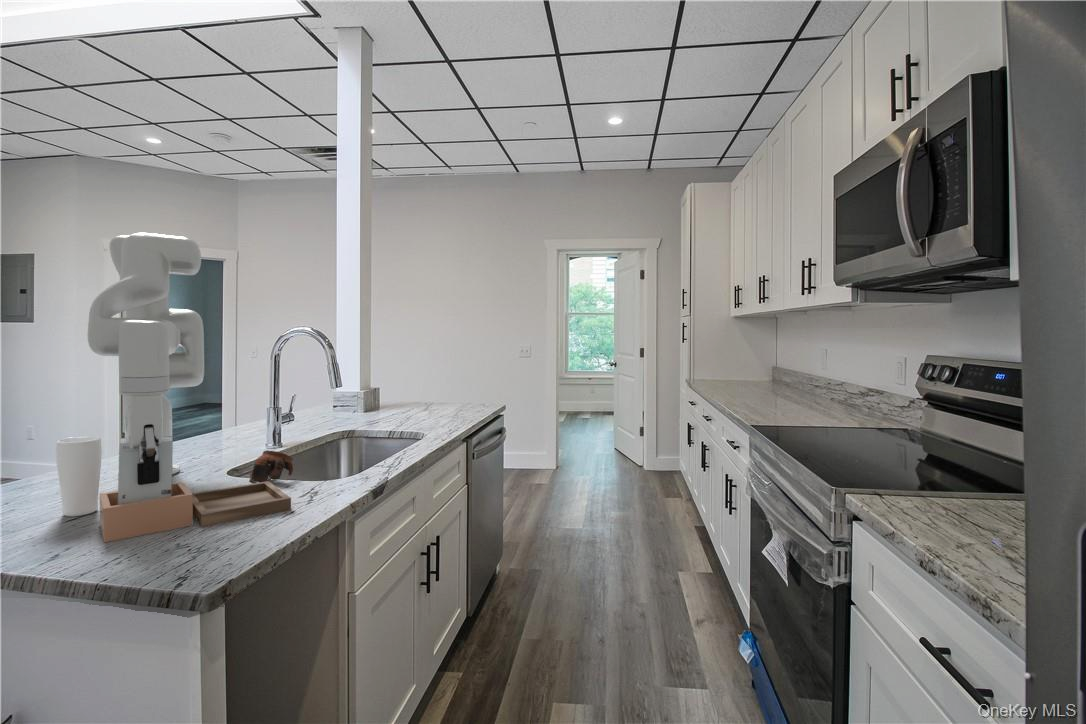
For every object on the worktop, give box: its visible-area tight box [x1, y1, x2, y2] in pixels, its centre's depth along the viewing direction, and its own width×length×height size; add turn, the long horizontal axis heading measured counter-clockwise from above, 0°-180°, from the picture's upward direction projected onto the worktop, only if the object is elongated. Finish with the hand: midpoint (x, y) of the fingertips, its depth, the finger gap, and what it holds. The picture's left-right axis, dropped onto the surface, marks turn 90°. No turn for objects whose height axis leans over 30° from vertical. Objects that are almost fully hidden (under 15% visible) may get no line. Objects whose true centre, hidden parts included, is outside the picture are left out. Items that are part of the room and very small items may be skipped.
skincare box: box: [117, 435, 174, 505], centre depth 99 cm, size 8×6×15 cm
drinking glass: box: [55, 435, 103, 517], centre depth 104 cm, size 7×7×15 cm
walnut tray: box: [191, 480, 292, 528], centre depth 109 cm, size 16×16×2 cm
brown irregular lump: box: [249, 450, 294, 483], centre depth 131 cm, size 12×10×8 cm
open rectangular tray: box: [99, 481, 194, 543], centre depth 99 cm, size 11×13×6 cm
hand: (146, 478), depth 99 cm, fingers closed on skincare box, 6 cm apart
